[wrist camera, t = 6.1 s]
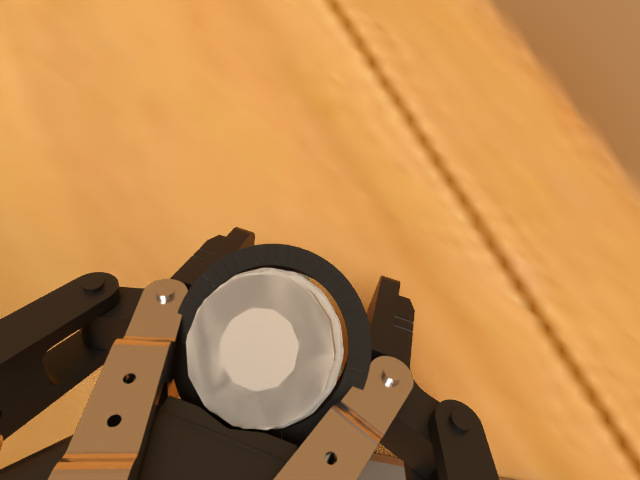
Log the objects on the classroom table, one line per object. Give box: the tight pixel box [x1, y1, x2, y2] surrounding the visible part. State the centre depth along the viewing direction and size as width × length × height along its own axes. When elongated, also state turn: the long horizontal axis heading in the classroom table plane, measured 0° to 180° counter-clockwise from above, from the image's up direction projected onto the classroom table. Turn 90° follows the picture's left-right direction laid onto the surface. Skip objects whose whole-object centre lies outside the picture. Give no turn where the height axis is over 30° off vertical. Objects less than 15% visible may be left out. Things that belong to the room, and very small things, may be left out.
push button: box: [174, 244, 371, 451], centre depth 14 cm, size 7×5×10 cm
